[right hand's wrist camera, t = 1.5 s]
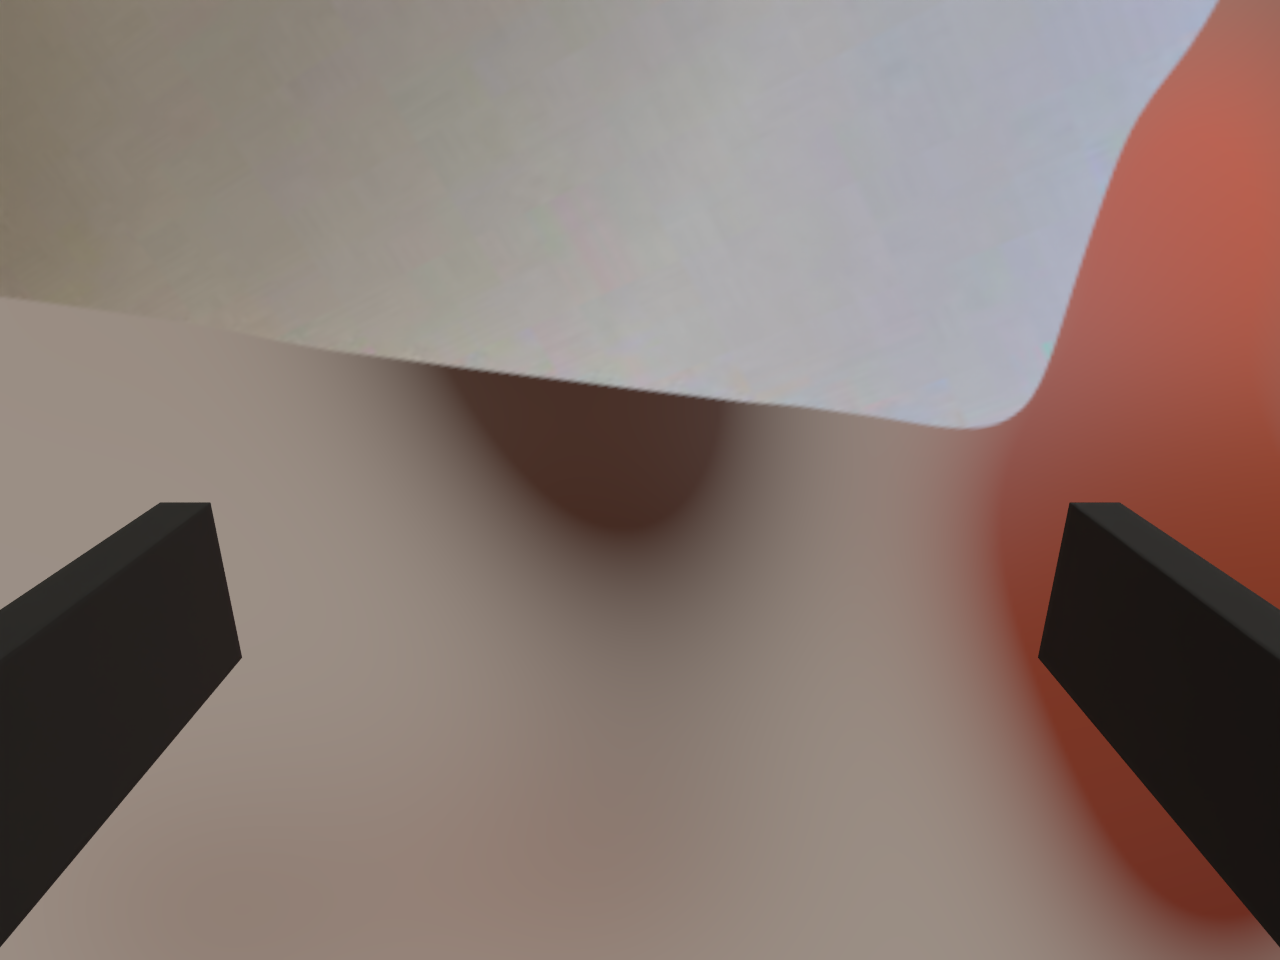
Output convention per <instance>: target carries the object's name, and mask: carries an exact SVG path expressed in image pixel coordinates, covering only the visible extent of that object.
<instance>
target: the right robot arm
mask: <svg viewBox="0 0 1280 960" xmlns="http://www.w3.org/2000/svg"><path fill="white" fill-rule="evenodd" d="M241 658H242V655H241V650H240V646H239V641H238V636H237V631H236V626H235V621H234V616H233V611H232V606H231V601H230V596H229V592H228V587H227V582H226V577H225V572H224V567H223V562H222V557H221V553H220V548H219V543H218V538H217V533H216V528H215V523H214V518H213V513H212V508H211V503H159V504H158V505H156V506H154V507H153V508H151V509H150V510H149V511H147V512H145V513H144V514H142V515H141V516H140V517H138V518H137V519H135V520H134V521H132V522H131V523H129V524H128V525H126V526H125V527H123V528H122V529H120V530H119V531H117V532H116V533H114V534H113V535H111V536H110V537H108V538H107V539H105V540H104V541H102V542H101V543H99V544H98V545H96V546H95V547H93V548H92V549H90V550H89V551H87V552H86V553H84V554H83V555H81V556H80V557H78V558H77V559H76V560H74V561H72V562H71V563H69V564H68V565H67V566H65V567H64V568H62V569H61V570H59V571H58V572H56V573H55V574H53V575H52V576H50V577H49V578H47V579H46V580H44V581H43V582H41V583H40V584H38V585H37V586H35V587H34V588H32V589H31V590H29V591H28V592H26V593H25V594H23V595H22V596H20V597H19V598H17V599H16V600H14V601H13V602H11V603H10V604H8V605H7V606H5V607H4V608H2V609H1V610H0V947H1V946H2V944H3V943H4V942H5V941H6V940H7V938H8V937H9V936H10V935H11V934H12V932H13V931H14V930H15V929H16V928H17V926H18V925H19V924H20V923H21V922H22V920H23V919H24V918H25V917H26V916H27V914H28V913H29V912H30V911H31V910H32V908H33V907H34V906H35V905H36V904H37V902H38V901H39V900H40V899H41V898H42V896H43V895H44V894H45V893H46V892H47V890H48V889H49V888H50V887H51V886H52V885H53V883H54V882H55V881H56V880H57V878H58V877H59V876H60V875H61V874H62V872H63V871H64V870H65V869H66V868H67V866H68V865H69V864H70V863H71V862H72V861H73V859H74V858H75V857H76V856H77V855H78V853H79V852H80V851H81V850H82V849H83V847H84V846H85V845H86V844H87V843H88V841H89V840H90V839H91V838H92V837H93V835H94V834H95V833H96V832H97V831H98V829H99V828H100V827H101V826H102V825H103V823H104V822H105V821H106V820H107V819H108V817H109V816H110V815H111V814H112V813H113V811H114V810H115V809H116V808H117V807H118V805H119V804H120V803H121V802H122V801H123V799H124V798H125V797H126V796H127V795H128V793H129V792H130V791H131V790H132V789H133V787H134V786H135V785H136V784H137V783H138V781H139V780H140V779H141V778H142V777H143V775H144V774H145V773H146V772H147V771H148V769H149V768H150V767H151V766H152V765H153V763H154V762H155V761H156V760H157V759H158V757H159V756H160V755H161V754H162V753H163V751H164V750H165V749H166V748H167V747H168V746H169V744H170V743H171V742H172V741H173V740H174V738H175V737H176V736H177V735H178V734H179V732H180V731H181V730H182V729H183V728H184V726H185V725H186V724H187V723H188V722H189V720H190V719H191V718H192V717H193V715H194V714H195V713H196V712H197V711H198V710H199V708H200V707H201V706H202V705H203V703H204V702H205V701H206V700H207V699H208V698H209V696H210V695H211V694H212V693H213V692H214V690H215V689H216V688H217V687H218V686H219V684H220V683H221V682H222V681H223V680H224V678H225V677H226V676H227V675H228V674H229V672H230V671H231V670H232V669H233V668H234V666H235V665H236V664H237V663H238V662H239V660H240V659H241ZM1038 658H1039V659H1040V660H1041V662H1042V663H1043V664H1044V665H1045V666H1046V668H1047V669H1048V670H1049V671H1050V672H1051V674H1052V675H1053V676H1054V677H1055V678H1056V680H1057V681H1058V682H1059V683H1060V684H1061V686H1062V687H1063V688H1064V689H1065V690H1066V692H1067V693H1068V694H1069V695H1070V696H1071V698H1072V699H1073V700H1074V701H1075V702H1076V703H1077V705H1078V706H1079V707H1080V708H1081V710H1082V711H1083V712H1084V713H1085V714H1086V716H1087V717H1088V718H1089V719H1090V720H1091V722H1092V723H1093V724H1094V725H1095V726H1096V727H1097V729H1098V730H1099V731H1100V732H1101V734H1102V735H1103V736H1104V737H1105V738H1106V740H1107V741H1108V742H1109V743H1110V744H1111V746H1112V747H1113V748H1114V749H1115V750H1116V752H1117V753H1118V754H1119V755H1120V756H1121V758H1122V759H1123V760H1124V761H1125V762H1126V763H1127V765H1128V766H1129V767H1130V768H1131V769H1132V771H1133V772H1134V773H1135V774H1136V775H1137V777H1138V778H1139V779H1140V780H1141V781H1142V783H1143V784H1144V785H1145V786H1146V787H1147V789H1148V790H1149V791H1150V792H1151V793H1152V795H1153V796H1154V797H1155V798H1156V799H1157V801H1158V802H1159V803H1160V804H1161V805H1162V807H1163V808H1164V809H1165V810H1166V811H1167V813H1168V814H1169V815H1170V816H1171V817H1172V819H1173V820H1174V821H1175V822H1176V823H1177V825H1178V826H1179V827H1180V828H1181V829H1182V831H1183V832H1184V833H1185V834H1186V835H1187V837H1188V838H1189V839H1190V840H1191V841H1192V843H1193V844H1194V845H1195V846H1196V847H1197V848H1198V850H1199V851H1200V852H1201V853H1202V855H1203V856H1204V857H1205V858H1206V859H1207V860H1208V862H1209V863H1210V864H1211V865H1212V867H1213V868H1214V869H1215V870H1216V871H1217V872H1218V874H1219V875H1220V876H1221V877H1222V878H1223V880H1224V881H1225V882H1226V883H1227V885H1228V886H1229V887H1230V888H1231V889H1232V890H1233V892H1234V893H1235V894H1236V895H1237V896H1238V898H1239V899H1240V900H1241V901H1242V902H1243V904H1244V905H1245V906H1246V907H1247V908H1248V910H1249V911H1250V912H1251V913H1252V914H1253V916H1254V917H1255V918H1256V919H1257V920H1258V922H1259V923H1260V924H1261V925H1262V926H1263V928H1264V929H1265V930H1266V931H1267V932H1268V934H1269V935H1270V936H1271V937H1272V938H1273V940H1274V941H1275V942H1276V943H1277V944H1278V946H1279V947H1280V610H1279V609H1278V608H1276V607H1275V606H1273V605H1272V604H1270V603H1269V602H1267V601H1266V600H1264V599H1263V598H1261V597H1260V596H1258V595H1257V594H1255V593H1254V592H1252V591H1251V590H1249V589H1248V588H1246V587H1245V586H1243V585H1242V584H1240V583H1239V582H1237V581H1236V580H1234V579H1233V578H1231V577H1230V576H1228V575H1227V574H1225V573H1224V572H1222V571H1221V570H1219V569H1218V568H1216V567H1215V566H1213V565H1212V564H1210V563H1209V562H1208V561H1206V560H1205V559H1203V558H1202V557H1200V556H1199V555H1197V554H1196V553H1194V552H1193V551H1191V550H1190V549H1188V548H1187V547H1185V546H1184V545H1182V544H1181V543H1179V542H1178V541H1176V540H1175V539H1173V538H1172V537H1170V536H1169V535H1167V534H1166V533H1164V532H1163V531H1161V530H1160V529H1158V528H1157V527H1155V526H1154V525H1152V524H1151V523H1149V522H1148V521H1146V520H1145V519H1143V518H1142V517H1140V516H1139V515H1138V514H1136V513H1134V512H1133V511H1132V510H1130V509H1129V508H1127V507H1126V506H1124V505H1123V504H1121V503H1069V508H1068V513H1067V518H1066V523H1065V528H1064V533H1063V538H1062V543H1061V547H1060V552H1059V557H1058V562H1057V567H1056V572H1055V577H1054V582H1053V587H1052V592H1051V597H1050V602H1049V606H1048V611H1047V616H1046V621H1045V626H1044V631H1043V636H1042V641H1041V646H1040V651H1039V655H1038Z"/></svg>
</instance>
